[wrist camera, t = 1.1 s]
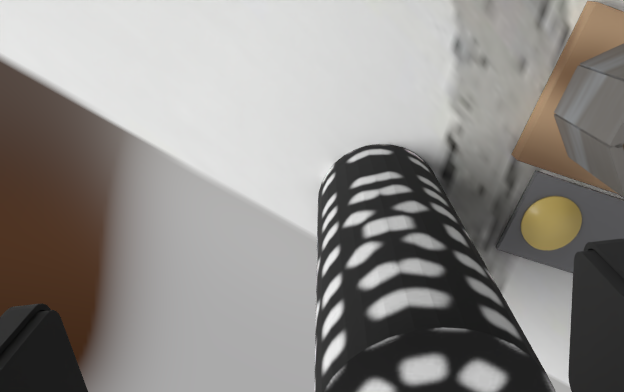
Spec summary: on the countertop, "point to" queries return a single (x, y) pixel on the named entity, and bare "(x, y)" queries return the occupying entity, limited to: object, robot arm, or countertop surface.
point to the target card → (560, 221)
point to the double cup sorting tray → (583, 106)
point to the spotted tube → (408, 288)
